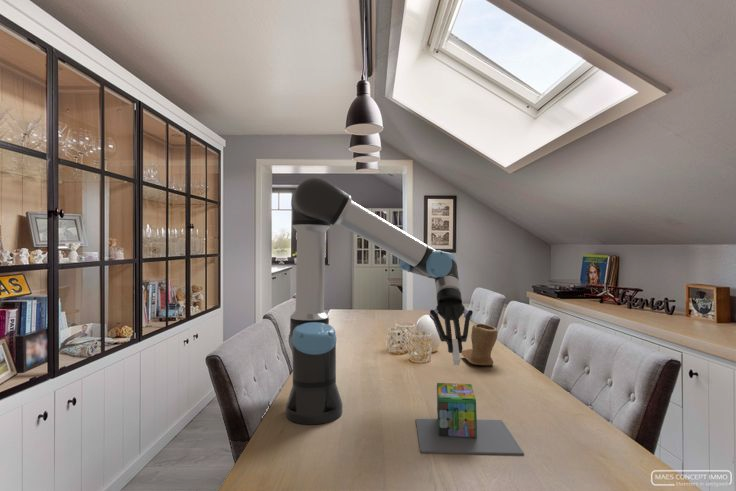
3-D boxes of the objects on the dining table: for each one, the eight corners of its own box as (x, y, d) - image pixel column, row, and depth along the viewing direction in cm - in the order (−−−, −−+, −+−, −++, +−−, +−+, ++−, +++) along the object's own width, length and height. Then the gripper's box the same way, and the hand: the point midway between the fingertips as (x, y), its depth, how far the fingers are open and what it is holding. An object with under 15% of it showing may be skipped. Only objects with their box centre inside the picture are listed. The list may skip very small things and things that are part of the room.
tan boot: (501, 367, 152) (501, 327, 152) (469, 367, 152) (469, 327, 152) (489, 357, 167) (489, 320, 167) (460, 357, 167) (460, 320, 167)
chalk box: (472, 418, 105) (480, 446, 91) (436, 416, 107) (438, 444, 92) (472, 382, 105) (479, 405, 91) (436, 381, 107) (437, 403, 92)
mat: (420, 452, 88) (420, 451, 88) (415, 420, 105) (415, 418, 105) (523, 454, 87) (523, 453, 87) (501, 421, 104) (501, 420, 104)
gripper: (468, 301, 130) (479, 369, 113) (426, 301, 131) (431, 369, 114) (471, 286, 124) (483, 355, 108) (428, 286, 125) (433, 355, 109)
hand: (456, 362), depth 111 cm, fingers closed
